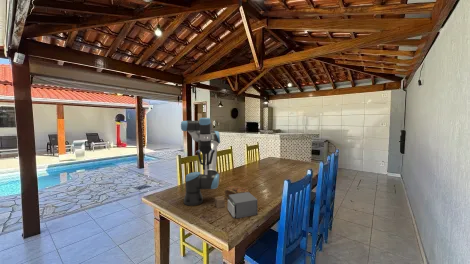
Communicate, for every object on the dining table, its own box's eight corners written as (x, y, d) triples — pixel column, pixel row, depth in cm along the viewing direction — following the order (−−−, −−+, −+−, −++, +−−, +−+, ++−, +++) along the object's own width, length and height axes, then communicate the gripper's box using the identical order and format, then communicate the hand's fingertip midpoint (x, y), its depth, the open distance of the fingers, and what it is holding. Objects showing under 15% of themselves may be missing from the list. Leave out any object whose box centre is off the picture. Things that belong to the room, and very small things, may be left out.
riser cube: (215, 204, 148) (215, 197, 148) (222, 203, 150) (222, 196, 150) (217, 208, 142) (216, 200, 142) (224, 206, 144) (224, 199, 144)
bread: (224, 199, 159) (224, 187, 158) (231, 194, 168) (231, 183, 167) (244, 203, 149) (244, 191, 149) (250, 199, 159) (250, 187, 158)
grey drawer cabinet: (228, 208, 141) (228, 194, 140) (248, 205, 147) (248, 191, 146) (235, 218, 127) (235, 203, 126) (257, 214, 133) (257, 199, 132)
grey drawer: (227, 209, 140) (227, 199, 139) (247, 205, 145) (247, 196, 144) (233, 217, 128) (233, 207, 127) (254, 213, 133) (254, 203, 133)
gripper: (196, 141, 124) (197, 176, 126) (215, 140, 129) (216, 174, 130) (194, 140, 132) (195, 173, 133) (213, 139, 136) (213, 171, 138)
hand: (205, 174), depth 132 cm, fingers closed
